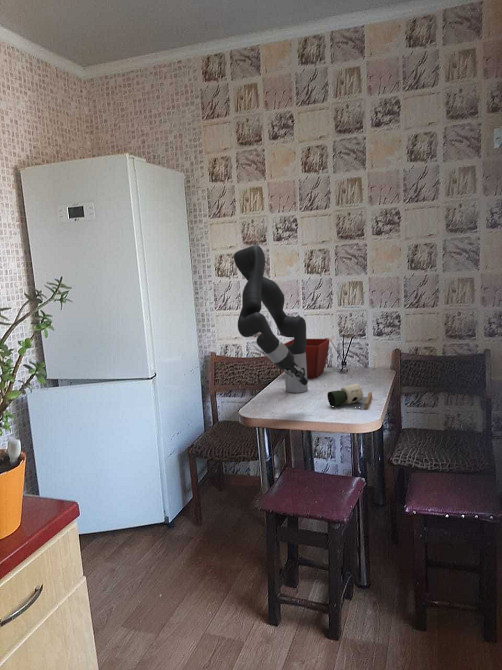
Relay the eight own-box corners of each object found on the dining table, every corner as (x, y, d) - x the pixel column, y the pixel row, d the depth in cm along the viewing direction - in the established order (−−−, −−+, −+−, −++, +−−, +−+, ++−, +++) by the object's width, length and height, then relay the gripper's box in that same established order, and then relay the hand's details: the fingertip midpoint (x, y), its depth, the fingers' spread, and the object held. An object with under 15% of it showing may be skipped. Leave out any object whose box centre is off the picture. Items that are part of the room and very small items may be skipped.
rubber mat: (335, 408, 209) (335, 402, 208) (342, 397, 224) (342, 391, 223) (367, 409, 205) (367, 403, 204) (372, 398, 220) (371, 392, 219)
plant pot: (319, 380, 256) (317, 345, 253) (282, 378, 264) (280, 345, 262) (331, 371, 273) (330, 338, 270) (296, 370, 281) (294, 338, 279)
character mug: (338, 404, 204) (367, 395, 208) (331, 387, 206) (360, 379, 210) (328, 412, 213) (356, 404, 217) (321, 396, 216) (349, 388, 220)
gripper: (263, 360, 202) (289, 388, 210) (284, 364, 191) (311, 394, 199) (274, 344, 205) (300, 373, 212) (295, 348, 194) (322, 378, 201)
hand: (305, 383), depth 206 cm, fingers closed
